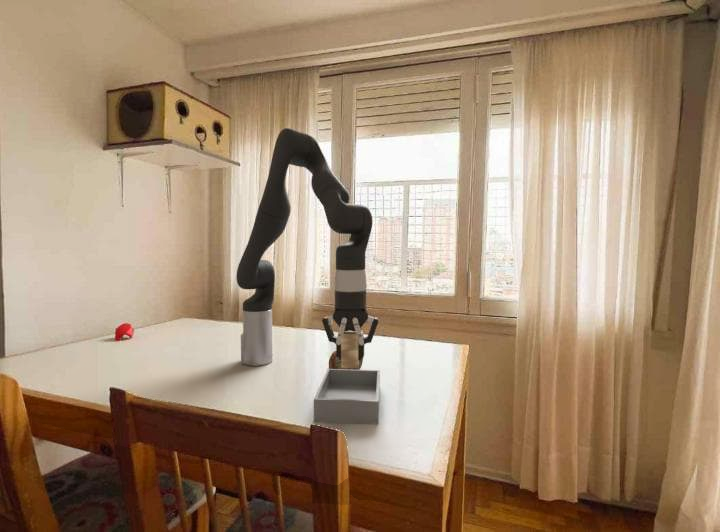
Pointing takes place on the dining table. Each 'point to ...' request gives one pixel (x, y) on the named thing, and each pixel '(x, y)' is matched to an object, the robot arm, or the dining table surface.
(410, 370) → the dining table surface
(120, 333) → the cap
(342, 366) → the wooden block
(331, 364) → the tin
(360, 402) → the bin
